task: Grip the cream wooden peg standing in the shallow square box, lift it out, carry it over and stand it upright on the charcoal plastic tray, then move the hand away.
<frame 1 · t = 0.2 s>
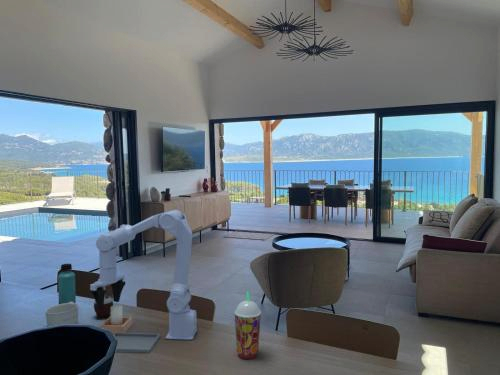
hand: (108, 304, 137), 10 cm above the table, tool pointing down, fingers open, 7 cm apart
tray: (131, 345, 126), on the table
shallow square box: (116, 329, 139), on the table
peg: (116, 328, 139), resting on shallow square box
beverage bottle: (67, 313, 155), on the table
smoothie: (247, 355, 120), on the table
mate gourd: (103, 317, 150), on the table
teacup: (65, 327, 141), on the table
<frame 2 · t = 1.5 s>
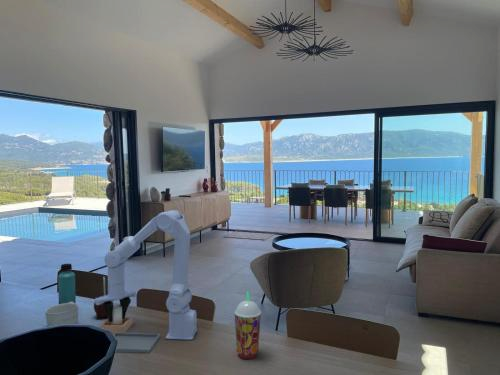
hand: (116, 319, 139), 4 cm above the table, tool pointing down, fingers closed on peg, 4 cm apart
peg: (116, 328, 139), resting on shallow square box, touching gripper
everything else where it was.
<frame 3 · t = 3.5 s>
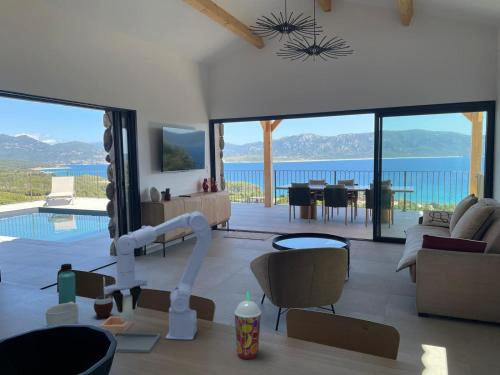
hand: (126, 310, 130), 10 cm above the table, tool pointing down, fingers closed on peg, 4 cm apart
peg: (126, 319, 130), point 7 cm above the table, touching gripper
everything else where it was.
when the fingers open (5 cm above the table, at t = 5.6 s): peg stays where it is, resting on tray.
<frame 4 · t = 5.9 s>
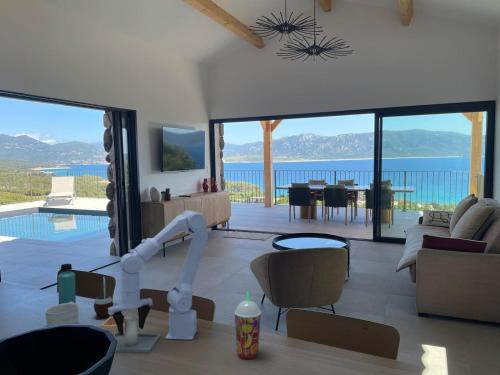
hand: (131, 330, 126), 5 cm above the table, tool pointing down, fingers open, 6 cm apart
peg: (131, 343, 126), point 1 cm above the table, touching tray
everything else where it was.
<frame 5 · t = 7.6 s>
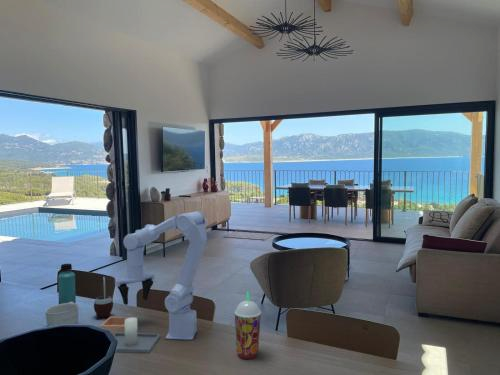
hand: (135, 301, 141), 9 cm above the table, tool pointing down, fingers open, 7 cm apart
nothing on the table moved.
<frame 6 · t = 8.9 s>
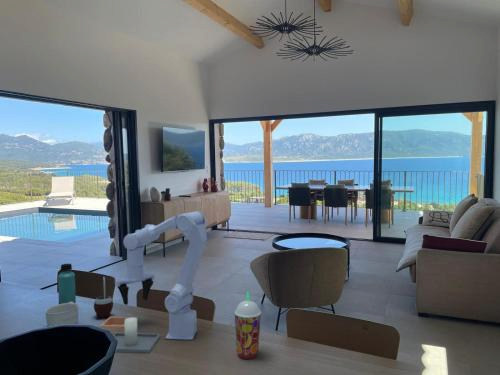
hand: (135, 301, 141), 9 cm above the table, tool pointing down, fingers open, 7 cm apart
nothing on the table moved.
at the end: peg inside the target area on the tray (0.0 cm from its centre), point 0.6 cm above the tray's base; peg tilted 1°; the gripper is holding nothing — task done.
